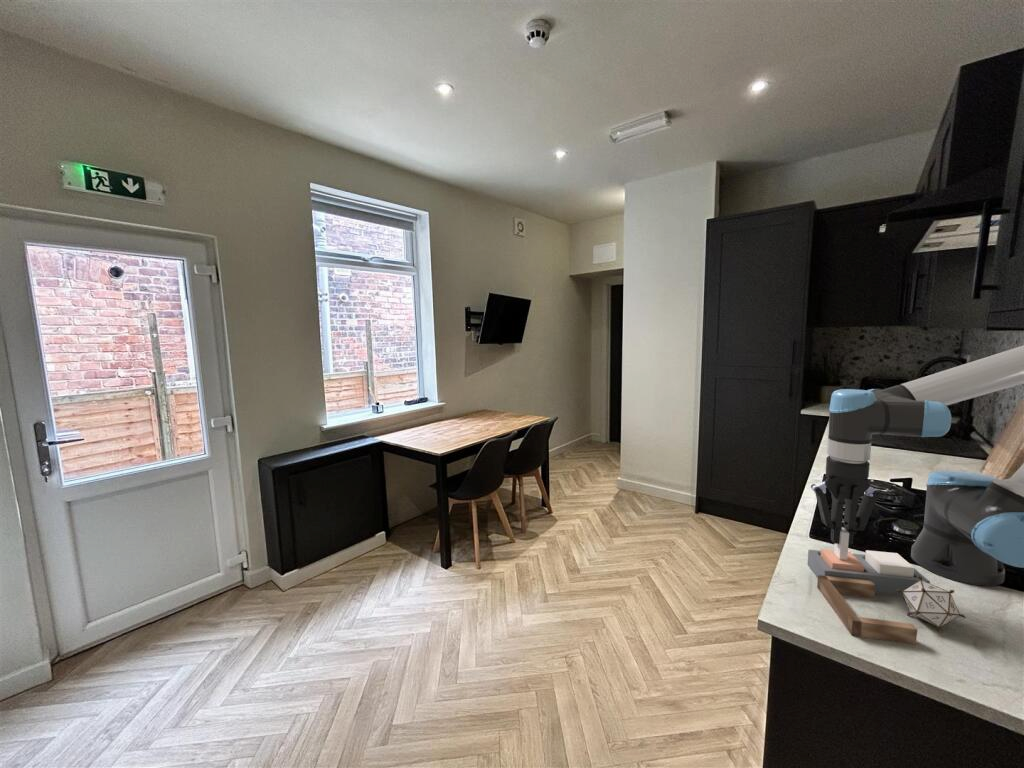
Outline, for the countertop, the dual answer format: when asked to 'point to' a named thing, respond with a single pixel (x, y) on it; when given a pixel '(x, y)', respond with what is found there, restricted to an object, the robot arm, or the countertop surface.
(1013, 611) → the countertop surface
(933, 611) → the game die
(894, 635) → the walnut bracket
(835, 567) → the terracotta key
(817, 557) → the key panel
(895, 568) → the ivory key
